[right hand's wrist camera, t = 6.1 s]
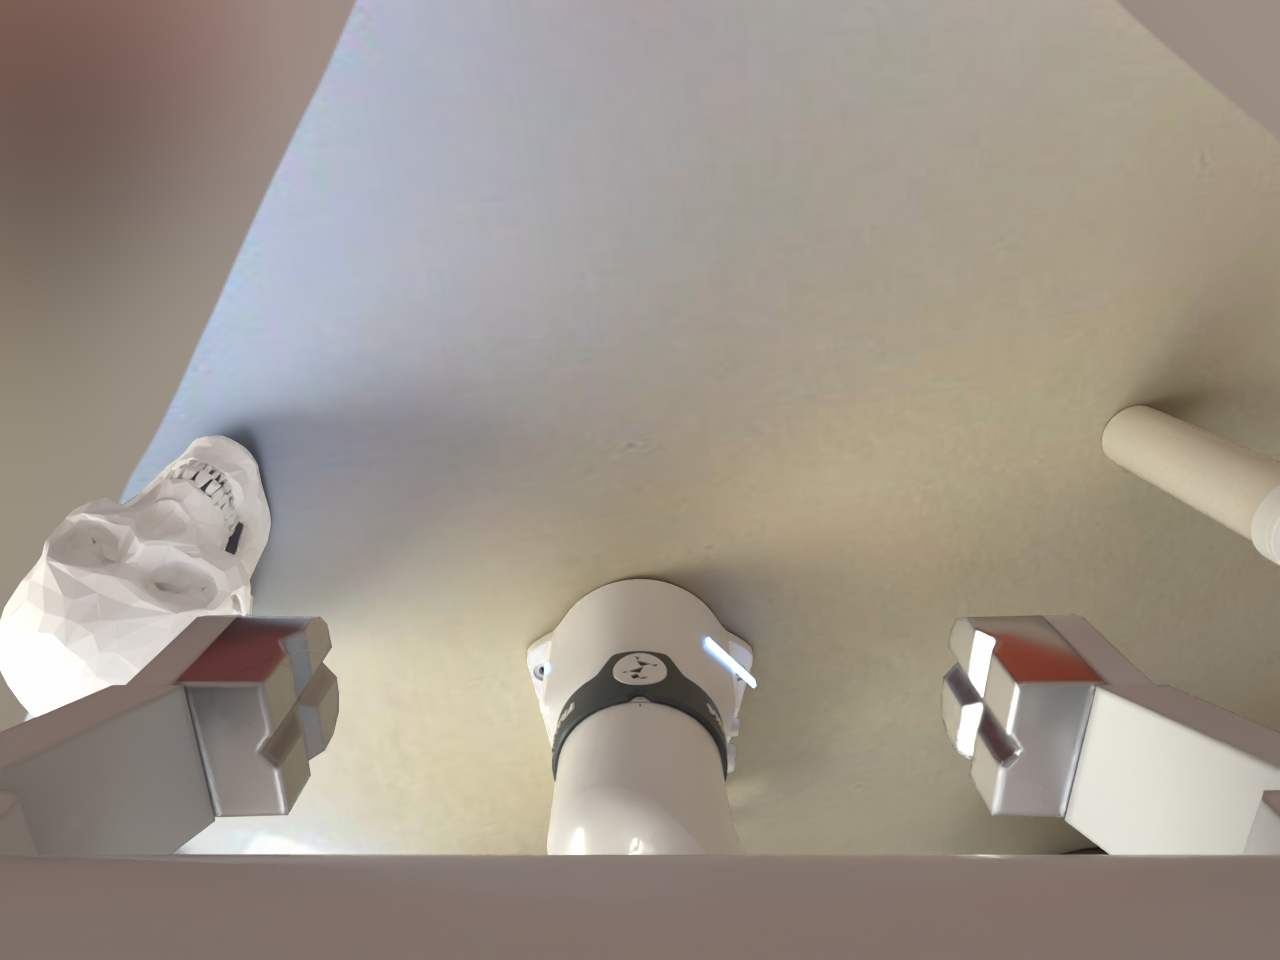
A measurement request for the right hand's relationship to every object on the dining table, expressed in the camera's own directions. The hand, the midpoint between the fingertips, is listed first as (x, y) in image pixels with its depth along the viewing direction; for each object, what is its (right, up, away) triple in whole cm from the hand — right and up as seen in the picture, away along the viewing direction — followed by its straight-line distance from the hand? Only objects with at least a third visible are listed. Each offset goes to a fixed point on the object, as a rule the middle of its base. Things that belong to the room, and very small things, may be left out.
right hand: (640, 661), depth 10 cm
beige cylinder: (+37, +6, +49) cm, 62 cm away
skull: (-35, -3, +52) cm, 63 cm away
